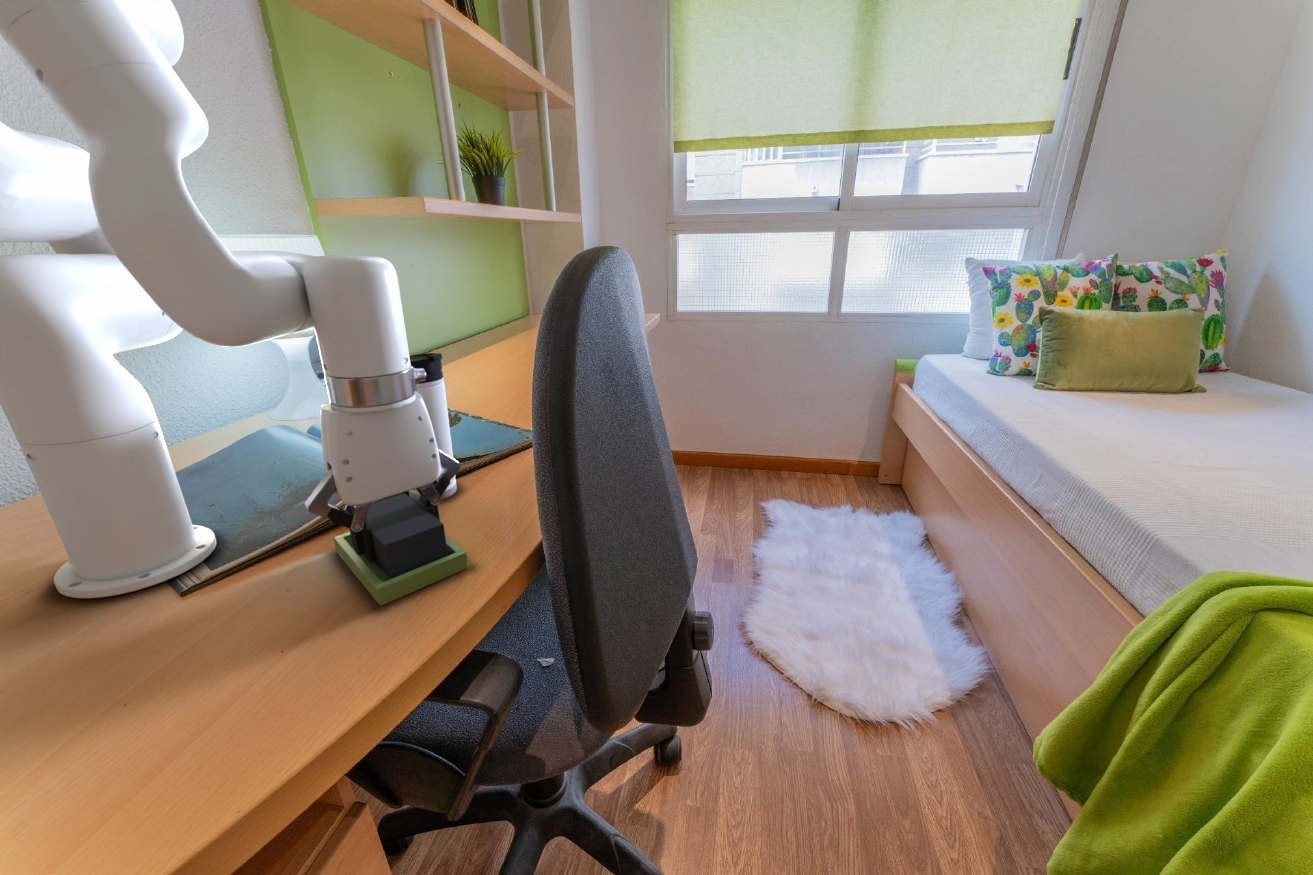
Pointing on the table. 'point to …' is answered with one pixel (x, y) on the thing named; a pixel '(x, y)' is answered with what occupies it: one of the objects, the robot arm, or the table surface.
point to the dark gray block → (404, 535)
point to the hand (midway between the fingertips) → (400, 543)
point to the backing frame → (405, 583)
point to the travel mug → (435, 408)
